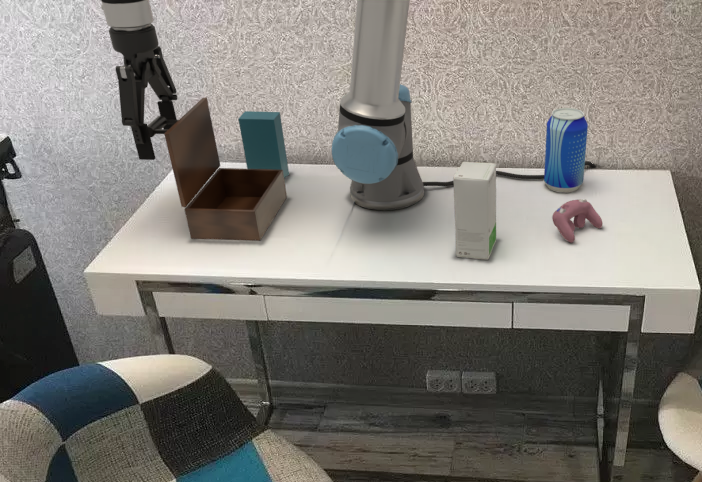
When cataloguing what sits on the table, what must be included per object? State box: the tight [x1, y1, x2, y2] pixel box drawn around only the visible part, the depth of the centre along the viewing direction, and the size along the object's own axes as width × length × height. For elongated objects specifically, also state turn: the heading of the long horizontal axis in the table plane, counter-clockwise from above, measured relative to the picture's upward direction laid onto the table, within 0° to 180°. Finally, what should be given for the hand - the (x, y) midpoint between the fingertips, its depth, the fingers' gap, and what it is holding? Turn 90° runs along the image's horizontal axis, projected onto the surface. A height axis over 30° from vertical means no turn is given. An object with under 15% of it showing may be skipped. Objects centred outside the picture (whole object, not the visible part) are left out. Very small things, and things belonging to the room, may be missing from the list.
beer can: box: [543, 107, 589, 194], centre depth 165 cm, size 8×8×16 cm
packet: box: [237, 110, 290, 179], centre depth 169 cm, size 8×5×14 cm, turn 87°
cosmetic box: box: [452, 161, 497, 260], centre depth 142 cm, size 8×7×16 cm
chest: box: [184, 167, 288, 242], centre depth 154 cm, size 13×19×7 cm
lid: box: [147, 97, 221, 208], centre depth 149 cm, size 14×19×8 cm
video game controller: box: [551, 198, 603, 244], centre depth 151 cm, size 10×5×7 cm, turn 135°
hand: (160, 146), depth 148 cm, fingers open, 11 cm apart
